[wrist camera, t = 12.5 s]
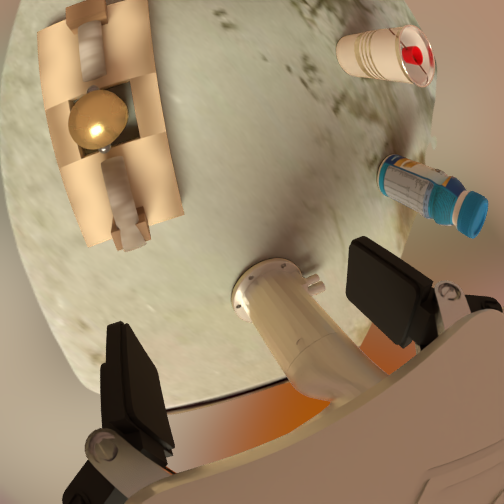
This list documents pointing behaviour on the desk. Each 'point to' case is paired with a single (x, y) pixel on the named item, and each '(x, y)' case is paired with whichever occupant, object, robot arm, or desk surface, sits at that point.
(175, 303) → the desk surface
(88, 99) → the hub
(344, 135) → the desk surface
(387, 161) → the blue supplement bottle
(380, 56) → the striped cup with float
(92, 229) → the shaft jig
